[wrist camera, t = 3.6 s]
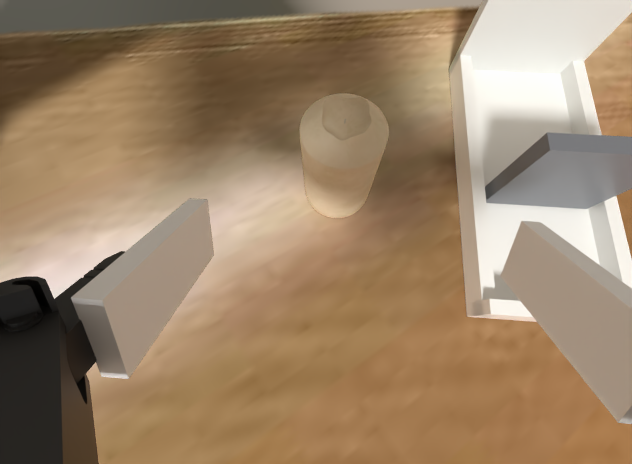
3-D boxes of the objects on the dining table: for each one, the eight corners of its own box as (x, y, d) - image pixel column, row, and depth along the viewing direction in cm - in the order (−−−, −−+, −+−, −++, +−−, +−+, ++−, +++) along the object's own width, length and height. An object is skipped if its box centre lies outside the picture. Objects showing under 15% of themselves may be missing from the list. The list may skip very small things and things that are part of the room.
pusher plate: (483, 202, 25) (550, 150, 18) (481, 189, 26) (546, 132, 18) (586, 209, 25) (697, 158, 18) (583, 195, 25) (691, 140, 18)
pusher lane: (466, 316, 24) (549, 308, 15) (448, 68, 31) (498, -32, 23) (614, 327, 23) (784, 325, 15) (561, 74, 31) (655, -26, 22)
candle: (292, 186, 27) (278, 108, 18) (339, 150, 28) (350, 59, 19) (332, 231, 26) (340, 174, 17) (381, 193, 27) (414, 118, 18)
